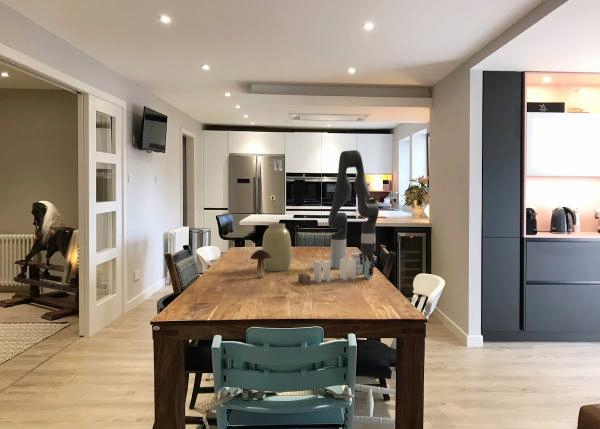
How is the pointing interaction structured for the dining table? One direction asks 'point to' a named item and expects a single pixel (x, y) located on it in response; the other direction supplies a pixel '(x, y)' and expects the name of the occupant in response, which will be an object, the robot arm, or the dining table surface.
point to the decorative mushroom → (260, 261)
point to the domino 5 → (367, 270)
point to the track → (306, 279)
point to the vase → (277, 247)
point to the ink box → (357, 263)
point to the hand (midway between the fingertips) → (367, 274)
